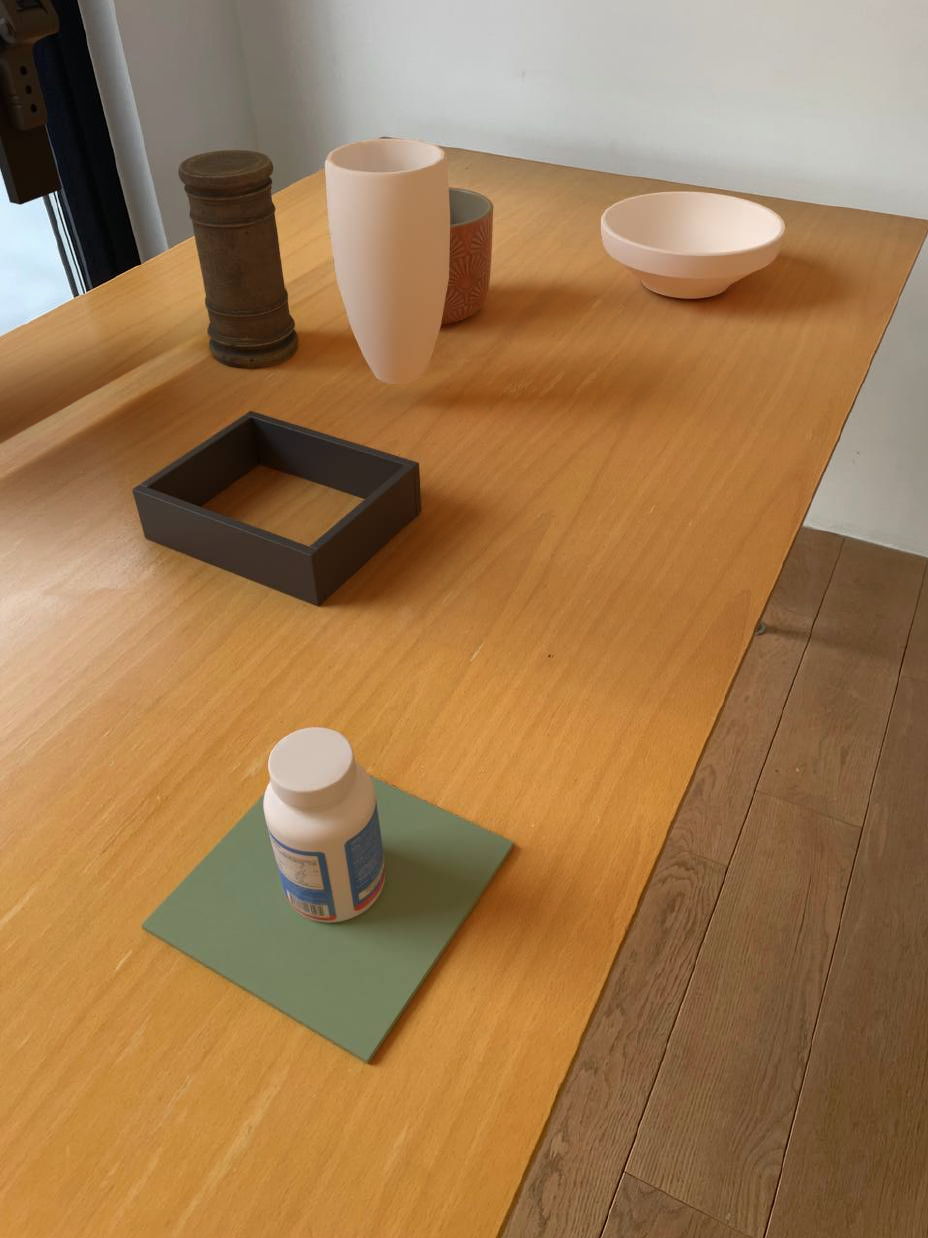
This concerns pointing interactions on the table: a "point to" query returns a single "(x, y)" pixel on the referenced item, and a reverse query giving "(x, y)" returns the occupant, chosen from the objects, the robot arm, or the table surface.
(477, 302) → the planter
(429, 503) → the table surface
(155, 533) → the frame
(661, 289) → the bowl
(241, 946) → the mat
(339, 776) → the pill bottle
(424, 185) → the cup
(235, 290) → the container
